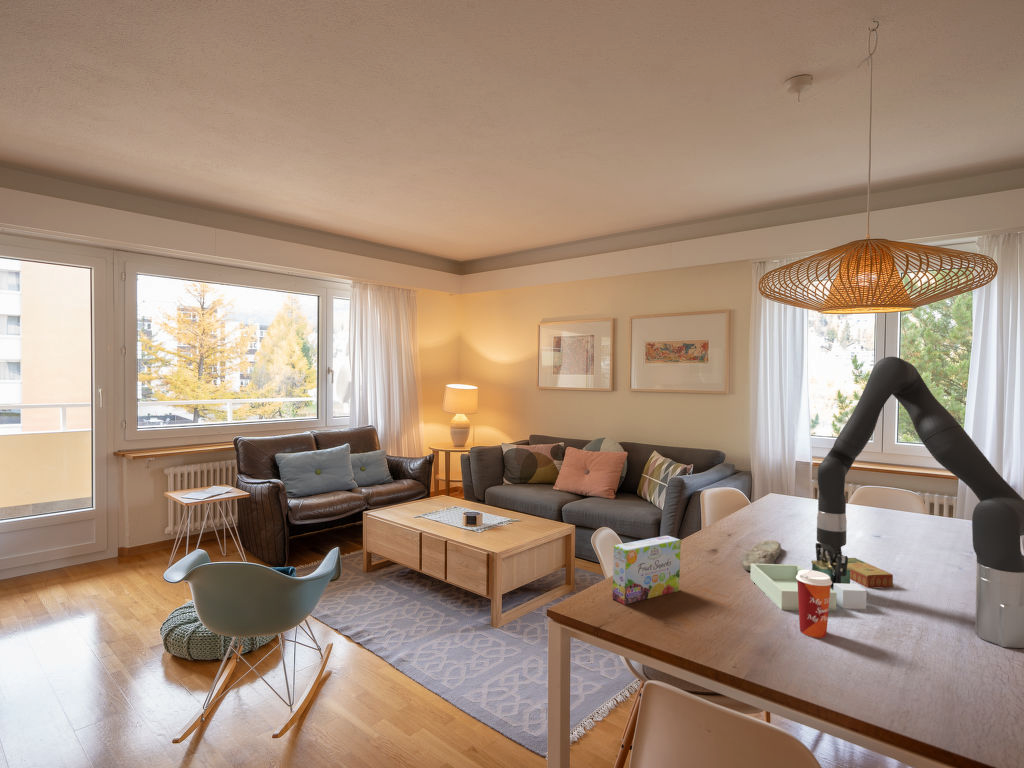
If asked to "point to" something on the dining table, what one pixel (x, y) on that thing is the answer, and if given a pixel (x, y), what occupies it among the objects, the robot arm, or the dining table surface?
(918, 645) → the dining table surface
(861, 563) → the carton
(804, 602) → the paper cup
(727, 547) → the dining table surface
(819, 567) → the tea tin
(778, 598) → the tote
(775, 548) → the long grey stone
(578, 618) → the dining table surface
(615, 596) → the snack box
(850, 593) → the white block
